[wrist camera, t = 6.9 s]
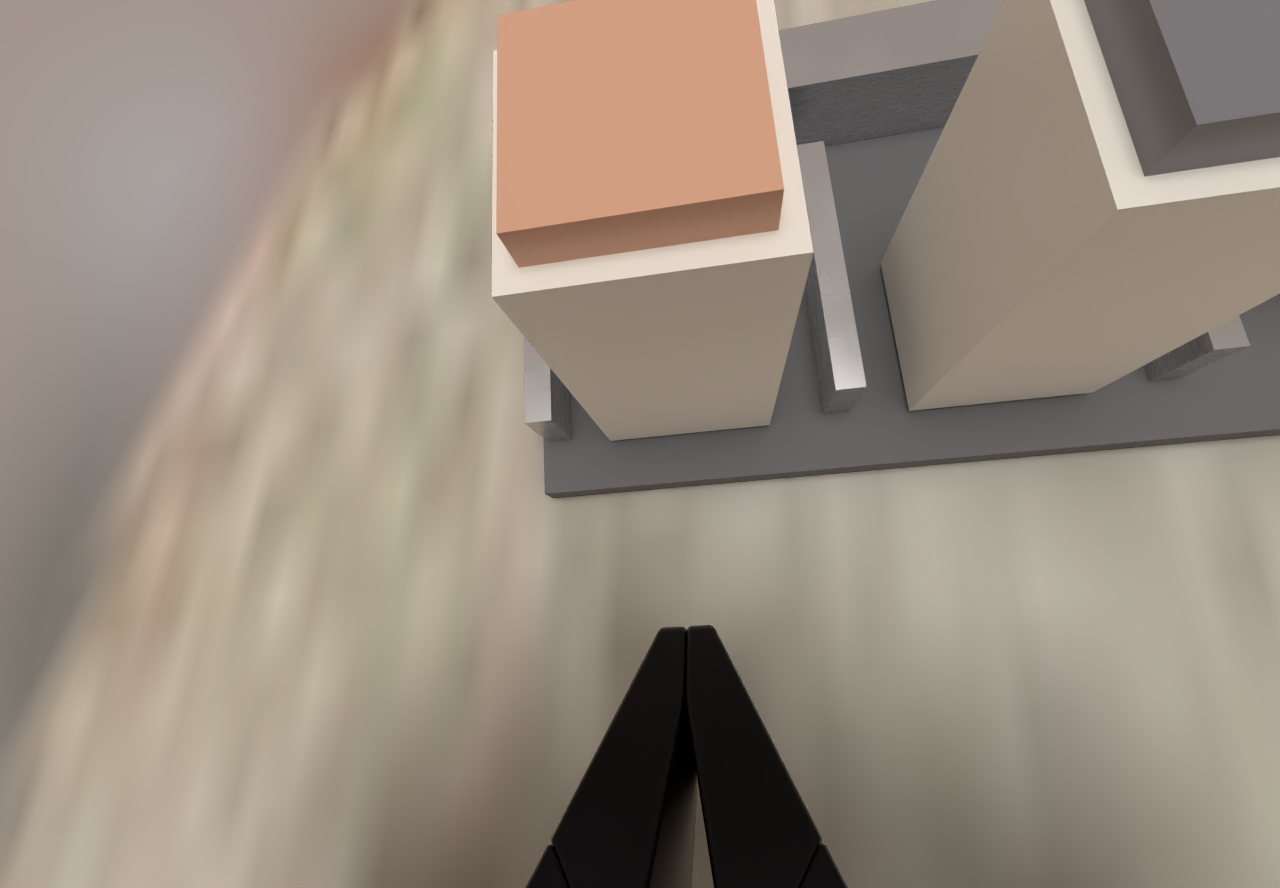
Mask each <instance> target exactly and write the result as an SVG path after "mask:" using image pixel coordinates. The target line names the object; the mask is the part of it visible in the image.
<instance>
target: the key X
mask: <svg viewBox="0 0 1280 888" xmlns="http://www.w3.org/2000/svg"><path fill="white" fill-rule="evenodd" d="M881 268H882V273H883V278H884V283H885V289H886V294H887V299H888V304H889V309H890V315H891V320H892V325H893V330H894V335H895V341H896V346H897V351H898V356H899V361H900V366H901V372H902V377H903V382H904V387H905V392H906V398H907V403H908V408H909V411H913V410H923V409H933V408H943V407H953V406H963V405H973V404H983V403H993V402H1003V401H1013V400H1023V399H1033V398H1043V397H1053V396H1063V395H1073V394H1083V393H1093V392H1095V391H1096V390H1098V389H1100V388H1102V387H1104V386H1106V385H1108V384H1110V383H1112V382H1114V381H1115V380H1117V379H1119V378H1121V377H1123V376H1125V375H1127V374H1129V373H1131V372H1132V371H1134V370H1136V369H1138V368H1140V367H1142V366H1144V365H1146V364H1148V363H1149V362H1151V361H1153V360H1155V359H1157V358H1159V357H1161V356H1163V355H1165V354H1166V353H1168V352H1170V351H1172V350H1174V349H1176V348H1178V347H1180V346H1182V345H1184V344H1185V343H1187V342H1189V341H1191V340H1193V339H1195V338H1197V337H1199V336H1201V335H1202V334H1204V333H1206V332H1208V331H1210V330H1212V329H1214V328H1216V327H1218V326H1219V325H1221V324H1223V323H1225V322H1227V321H1229V320H1231V319H1233V318H1235V317H1236V316H1238V315H1240V314H1242V313H1244V312H1246V311H1248V310H1250V309H1252V308H1253V307H1255V306H1257V305H1259V304H1261V303H1263V302H1265V301H1267V300H1269V299H1271V298H1272V297H1274V296H1276V295H1278V294H1280V0H1004V2H1003V4H1002V6H1001V8H1000V10H999V12H998V14H997V16H996V19H995V21H994V23H993V25H992V27H991V29H990V31H989V33H988V36H987V38H986V40H985V42H984V44H983V46H982V48H981V50H980V53H979V55H978V57H977V59H976V61H975V63H974V65H973V67H972V70H971V72H970V74H969V76H968V78H967V80H966V82H965V84H964V87H963V89H962V91H961V93H960V95H959V97H958V99H957V101H956V104H955V106H954V108H953V110H952V112H951V114H950V116H949V118H948V121H947V123H946V125H945V127H944V129H943V131H942V133H941V135H940V137H939V140H938V142H937V144H936V146H935V148H934V150H933V152H932V154H931V157H930V159H929V161H928V163H927V165H926V167H925V169H924V171H923V174H922V176H921V178H920V180H919V182H918V184H917V186H916V188H915V191H914V193H913V195H912V197H911V199H910V201H909V203H908V205H907V208H906V210H905V212H904V214H903V216H902V218H901V220H900V222H899V225H898V227H897V229H896V231H895V233H894V235H893V237H892V239H891V242H890V244H889V246H888V248H887V250H886V252H885V254H884V256H883V259H882V261H881Z"/></svg>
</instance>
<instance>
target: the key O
mask: <svg viewBox="0 0 1280 888" xmlns="http://www.w3.org/2000/svg"><path fill="white" fill-rule="evenodd" d="M813 253H814V251H813V245H812V239H811V233H810V226H809V220H808V214H807V207H806V201H805V195H804V189H803V182H802V176H801V170H800V163H799V157H798V151H797V145H796V138H795V132H794V126H793V119H792V113H791V107H790V101H789V94H788V88H787V82H786V75H785V69H784V63H783V56H782V50H781V44H780V38H779V31H778V25H777V19H776V12H775V6H774V0H572V1H567V2H562V3H558V4H553V5H548V6H543V7H538V8H534V9H529V10H524V11H519V12H514V13H510V14H505V15H500V16H497V50H494V56H493V200H492V298H493V299H494V300H495V301H496V303H497V304H498V305H499V306H500V307H501V309H502V310H503V311H504V312H505V313H506V315H507V316H508V317H509V318H510V320H511V321H512V322H513V323H514V324H515V326H516V327H517V328H518V329H519V330H520V332H521V333H522V334H523V335H524V337H525V338H526V339H527V340H528V341H529V343H530V344H531V345H532V346H533V348H534V349H535V350H536V351H537V352H538V354H539V355H540V356H541V357H542V358H543V360H544V361H545V362H546V363H547V365H548V366H549V367H550V368H551V369H552V371H553V372H554V373H555V374H556V375H557V377H558V378H559V379H560V380H561V382H562V383H563V384H564V385H565V386H566V388H567V389H568V390H569V391H570V392H571V394H572V395H573V396H574V397H575V399H576V400H577V401H578V402H579V403H580V405H581V406H582V407H583V408H584V409H585V411H586V412H587V413H588V414H589V416H590V417H591V418H592V419H593V420H594V422H595V423H596V424H597V425H598V426H599V428H600V429H601V430H602V431H603V433H604V434H605V435H606V436H607V437H608V439H609V440H610V441H615V440H625V439H635V438H645V437H655V436H665V435H675V434H685V433H695V432H705V431H715V430H725V429H735V428H745V427H755V426H765V425H770V421H771V417H772V414H773V410H774V406H775V402H776V398H777V394H778V390H779V386H780V382H781V378H782V374H783V370H784V366H785V363H786V359H787V355H788V351H789V347H790V343H791V339H792V335H793V331H794V327H795V323H796V319H797V316H798V312H799V308H800V304H801V300H802V296H803V292H804V288H805V284H806V280H807V276H808V272H809V268H810V265H811V261H812V257H813Z"/></svg>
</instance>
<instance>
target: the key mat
mask: <svg viewBox="0 0 1280 888" xmlns="http://www.w3.org/2000/svg"><path fill="white" fill-rule="evenodd" d="M943 129H944V128H938V129H932V130H926V131H920V132H914V133H907V134H901V135H895V136H889V137H883V138H877V139H870V140H864V141H858V142H852V143H846V144H840V145H834V146H827V147H825V151H826V157H827V163H828V168H829V174H830V180H831V186H832V191H833V197H834V203H835V208H836V214H837V220H838V226H839V231H840V237H841V243H842V249H843V254H844V260H845V266H846V272H847V277H848V283H849V289H850V295H851V300H852V306H853V312H854V318H855V323H856V329H857V335H858V341H859V346H860V352H861V358H862V363H863V369H864V375H865V381H866V386H867V387H866V388H865V390H864V391H863V393H862V394H861V395H860V397H859V398H858V400H857V401H856V403H855V404H854V406H853V407H852V408H851V410H850V411H849V412H843V413H833V414H823V415H822V409H821V402H820V396H819V389H818V382H817V376H816V369H815V363H814V356H813V349H812V343H811V336H810V329H809V323H808V316H807V309H806V303H805V296H804V292H803V296H802V300H801V304H800V308H799V312H798V316H797V319H796V323H795V327H794V331H793V335H792V339H791V343H790V347H789V351H788V355H787V359H786V363H785V366H784V370H783V374H782V378H781V382H780V386H779V390H778V394H777V398H776V402H775V406H774V410H773V414H772V417H771V421H770V425H765V426H755V427H745V428H735V429H725V430H715V431H705V432H695V433H685V434H675V435H665V436H655V437H645V438H635V439H625V440H615V441H610V440H609V439H608V437H607V436H606V435H605V434H604V433H603V431H602V430H601V429H600V428H599V426H598V425H597V424H596V423H595V422H594V420H593V419H592V418H591V417H590V416H589V414H588V413H587V412H586V411H585V409H584V408H583V407H582V406H581V405H580V403H579V402H578V401H577V400H576V399H575V397H574V396H573V395H572V394H571V413H572V440H566V441H556V442H548V441H547V440H545V439H544V475H545V494H546V495H548V496H550V497H552V498H559V497H570V496H582V495H593V494H605V493H616V492H628V491H639V490H651V489H662V488H674V487H685V486H697V485H708V484H720V483H731V482H742V481H754V480H765V479H777V478H788V477H800V476H811V475H823V474H834V473H846V472H857V471H869V470H880V469H892V468H903V467H915V466H926V465H937V464H949V463H960V462H972V461H983V460H995V459H1006V458H1018V457H1029V456H1041V455H1052V454H1064V453H1075V452H1087V451H1098V450H1110V449H1121V448H1133V447H1144V446H1155V445H1167V444H1178V443H1190V442H1201V441H1213V440H1224V439H1236V438H1247V437H1259V436H1270V435H1280V294H1278V295H1276V296H1274V297H1272V298H1271V299H1269V300H1267V301H1265V302H1263V303H1261V304H1259V305H1257V306H1255V307H1253V308H1252V309H1250V310H1248V311H1246V312H1244V313H1242V314H1240V315H1239V316H1240V319H1241V321H1242V324H1243V327H1244V330H1245V332H1246V335H1247V338H1248V341H1249V343H1250V346H1249V347H1247V348H1245V349H1243V350H1240V351H1238V352H1236V353H1234V354H1232V355H1230V356H1227V357H1225V358H1223V359H1221V360H1219V361H1216V362H1214V363H1212V364H1210V365H1208V366H1206V367H1203V368H1201V369H1199V370H1197V371H1195V372H1192V373H1190V374H1188V375H1186V376H1184V377H1182V378H1179V379H1170V380H1160V381H1150V382H1148V379H1147V376H1146V373H1145V369H1144V366H1142V367H1140V368H1138V369H1136V370H1134V371H1132V372H1131V373H1129V374H1127V375H1125V376H1123V377H1121V378H1119V379H1117V380H1115V381H1114V382H1112V383H1110V384H1108V385H1106V386H1104V387H1102V388H1100V389H1098V390H1096V391H1095V392H1093V393H1083V394H1073V395H1063V396H1053V397H1043V398H1033V399H1023V400H1013V401H1003V402H993V403H983V404H973V405H963V406H953V407H943V408H933V409H923V410H913V411H909V408H908V403H907V398H906V392H905V387H904V382H903V377H902V372H901V366H900V361H899V356H898V351H897V346H896V341H895V335H894V330H893V325H892V320H891V315H890V309H889V304H888V299H887V294H886V289H885V283H884V278H883V273H882V268H881V261H882V259H883V256H884V254H885V252H886V250H887V248H888V246H889V244H890V242H891V239H892V237H893V235H894V233H895V231H896V229H897V227H898V225H899V222H900V220H901V218H902V216H903V214H904V212H905V210H906V208H907V205H908V203H909V201H910V199H911V197H912V195H913V193H914V191H915V188H916V186H917V184H918V182H919V180H920V178H921V176H922V174H923V171H924V169H925V167H926V165H927V163H928V161H929V159H930V157H931V154H932V152H933V150H934V148H935V146H936V144H937V142H938V140H939V137H940V135H941V133H942V131H943Z"/></svg>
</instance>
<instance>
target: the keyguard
mask: <svg viewBox="0 0 1280 888" xmlns="http://www.w3.org/2000/svg"><path fill="white" fill-rule="evenodd" d="M1003 2H1004V0H936V1H930V2H925V3H920V4H915V5H910V6H904V7H899V8H894V9H889V10H883V11H878V12H873V13H868V14H863V15H857V16H852V17H847V18H842V19H836V20H831V21H826V22H821V23H815V24H810V25H805V26H800V27H795V28H789V29H784V30H779V38H780V44H781V50H782V56H783V63H784V69H785V75H786V82H787V88H788V94H789V101H790V107H791V113H792V119H793V126H794V132H795V138H796V145H797V151H798V157H799V163H800V170H801V176H802V182H803V189H804V195H805V201H806V207H807V214H808V220H809V226H810V233H811V239H812V245H813V251H814V253H813V257H812V261H811V265H810V268H809V272H808V276H807V280H806V284H805V288H804V296H805V303H806V309H807V316H808V323H809V329H810V336H811V343H812V349H813V356H814V363H815V369H816V376H817V382H818V389H819V396H820V402H821V409H822V415H823V414H833V413H843V412H849V411H850V410H851V408H852V407H853V406H854V404H855V403H856V401H857V400H858V398H859V397H860V395H861V394H862V393H863V391H864V390H865V388H866V387H867V386H866V381H865V375H864V369H863V363H862V358H861V352H860V346H859V341H858V335H857V329H856V323H855V318H854V312H853V306H852V300H851V295H850V289H849V283H848V277H847V272H846V266H845V260H844V254H843V249H842V243H841V237H840V231H839V226H838V220H837V214H836V208H835V203H834V197H833V191H832V186H831V180H830V174H829V168H828V163H827V157H826V151H825V147H827V146H834V145H840V144H846V143H852V142H858V141H864V140H870V139H877V138H883V137H889V136H895V135H901V134H907V133H914V132H920V131H926V130H932V129H938V128H944V127H945V125H946V123H947V121H948V118H949V116H950V114H951V112H952V110H953V108H954V106H955V104H956V101H957V99H958V97H959V95H960V93H961V91H962V89H963V87H964V84H965V82H966V80H967V78H968V76H969V74H970V72H971V70H972V67H973V65H974V63H975V61H976V59H977V57H978V55H979V53H980V50H981V48H982V46H983V44H984V42H985V40H986V38H987V36H988V33H989V31H990V29H991V27H992V25H993V23H994V21H995V19H996V16H997V14H998V12H999V10H1000V8H1001V6H1002V4H1003ZM1249 346H1250V343H1249V341H1248V338H1247V335H1246V332H1245V330H1244V327H1243V324H1242V321H1241V319H1240V316H1239V315H1238V316H1236V317H1235V318H1233V319H1231V320H1229V321H1227V322H1225V323H1223V324H1221V325H1219V326H1218V327H1216V328H1214V329H1212V330H1210V331H1208V332H1206V333H1204V334H1202V335H1201V336H1199V337H1197V338H1195V339H1193V340H1191V341H1189V342H1187V343H1185V344H1184V345H1182V346H1180V347H1178V348H1176V349H1174V350H1172V351H1170V352H1168V353H1166V354H1165V355H1163V356H1161V357H1159V358H1157V359H1155V360H1153V361H1151V362H1149V363H1148V364H1146V365H1144V369H1145V373H1146V376H1147V379H1148V382H1150V381H1160V380H1170V379H1179V378H1182V377H1184V376H1186V375H1188V374H1190V373H1192V372H1195V371H1197V370H1199V369H1201V368H1203V367H1206V366H1208V365H1210V364H1212V363H1214V362H1216V361H1219V360H1221V359H1223V358H1225V357H1227V356H1230V355H1232V354H1234V353H1236V352H1238V351H1240V350H1243V349H1245V348H1247V347H1249ZM524 395H525V424H527V425H528V426H529V427H530V428H532V429H533V430H534V431H535V432H537V433H538V434H539V435H540V436H542V437H543V438H544V439H545V440H547V441H548V442H556V441H566V440H572V413H571V392H570V391H569V390H568V389H567V388H566V386H565V385H564V384H563V383H562V382H561V380H560V379H559V378H558V377H557V375H556V374H555V373H554V372H553V371H552V369H551V368H550V367H549V366H548V365H547V363H546V362H545V361H544V360H543V358H542V357H541V356H540V355H539V354H538V352H537V351H536V350H535V349H534V348H533V346H532V345H531V344H530V343H529V341H528V340H527V339H526V338H525V337H524Z"/></svg>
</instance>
